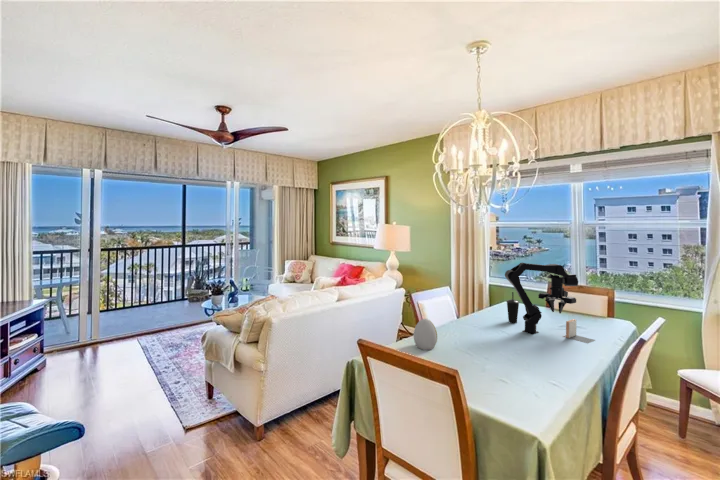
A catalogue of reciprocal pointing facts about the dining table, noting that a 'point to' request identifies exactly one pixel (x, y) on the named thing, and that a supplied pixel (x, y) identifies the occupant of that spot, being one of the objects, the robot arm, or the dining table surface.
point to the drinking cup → (512, 310)
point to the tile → (571, 328)
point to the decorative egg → (425, 335)
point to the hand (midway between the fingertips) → (556, 312)
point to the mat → (581, 339)
